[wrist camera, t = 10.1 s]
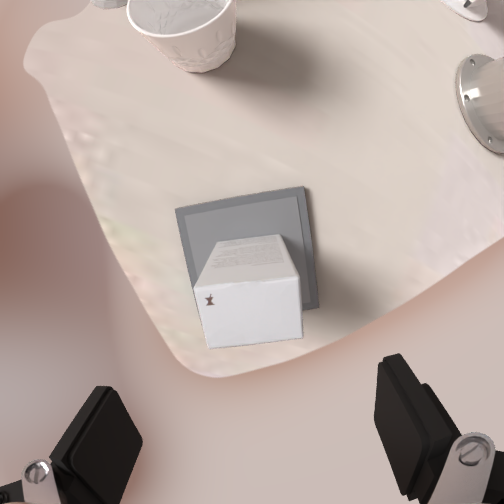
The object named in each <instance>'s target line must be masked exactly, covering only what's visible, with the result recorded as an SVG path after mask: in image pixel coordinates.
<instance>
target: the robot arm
mask: <svg viewBox="0 0 504 504" xmlns="http://www.w3.org/2000/svg"><path fill="white" fill-rule="evenodd" d="M456 93H457V98H458V102H459V105H460V109H461V112H462V114H463V116H464V119H465V121H466V123H467V125H468V126H469V128H470V130H471V131H472V133H473V134H474V136H475V137H476V138H477V139H478V140H479V141H480V142H481V144H482V145H484V146H485V147H486V148H488V149H489V150H491V151H493V152H496V153H504V57H502V58H500V59H497V60H494V59H492V58H491V57H489V56H486V55H483V54H475V55H471V56H469V57H467V58H465V59H464V60H463V61H462V62H461V64H460V65H459V67H458V70H457V74H456ZM374 421H375V425H376V428H377V430H378V433H379V436H380V438H381V441H382V443H383V446H384V449H385V451H386V454H387V457H388V459H389V462H390V465H391V468H392V470H393V473H394V476H395V479H396V481H397V484H398V487H399V490H400V493H401V494H402V495H403V496H404V495H407V497H408V500H409V501H411V500H414V499H416V498H418V500H419V503H420V504H504V452H501V451H496V450H495V445H494V443H493V441H492V440H491V438H490V437H488V436H487V435H485V434H482V433H477V432H475V433H474V432H471V433H467V434H464V435H461V433H460V431H459V430H458V428H457V427H456V425H455V424H454V422H453V420H452V419H451V417H450V416H449V414H448V413H447V411H446V410H445V408H444V407H443V405H442V404H441V402H440V401H439V399H438V398H437V396H436V395H435V393H434V392H433V390H432V389H431V387H430V386H429V385H428V384H426V383H424V384H420V382H419V380H418V379H417V377H416V376H415V374H414V373H413V372H412V370H411V369H410V367H409V365H408V364H407V363H406V361H405V360H404V359H403V357H402V355H401V354H399V353H398V354H395V355H391V356H387V357H384V358H383V362H380V363H379V364H378V375H377V388H376V401H375V411H374ZM142 443H143V441H142V437H141V435H140V433H139V432H138V430H137V428H136V426H135V425H134V423H133V421H132V420H131V417H130V416H129V414H128V412H127V410H126V408H125V406H124V404H123V403H122V400H121V398H120V396H119V395H118V393H117V391H115V390H113V388H112V387H110V386H96V387H95V389H94V390H93V392H92V393H91V394H90V396H89V397H88V399H87V400H86V402H85V403H84V405H83V406H82V408H81V409H80V410H79V412H78V414H77V415H76V416H75V418H74V419H73V421H72V422H71V424H70V426H69V427H68V429H67V430H66V432H65V433H64V434H63V436H62V438H61V439H60V441H59V442H58V444H57V445H56V447H55V448H54V450H53V451H52V453H51V455H50V456H49V458H50V459H51V460H52V463H51V464H50V463H49V462H48V461H46V460H43V459H37V460H33V461H31V462H29V463H28V464H27V465H26V466H25V467H24V469H23V471H22V476H21V478H22V480H19V481H16V482H13V483H10V484H8V485H4V486H1V487H0V504H119V503H120V501H121V499H122V495H123V493H124V490H125V488H126V485H127V482H128V480H129V477H130V475H131V472H132V470H133V467H134V465H135V462H136V460H137V457H138V455H139V452H140V450H141V447H142Z"/></svg>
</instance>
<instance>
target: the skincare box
mask: <svg viewBox="0 0 504 504" xmlns="http://www.w3.org/2000/svg"><path fill="white" fill-rule="evenodd" d="M193 290H194V294H195V298H196V302H197V306H198V310H199V315H200V319H201V323H202V327H203V331H204V335H205V339H206V344H207V347H208V348H209V349H214V348H226V347H236V346H245V345H254V344H262V343H270V342H278V341H285V340H292V339H301V338H303V312H302V296H301V282H300V275H299V274H298V272H297V270H296V268H295V265H294V263H293V261H292V259H291V257H290V254H289V252H288V250H287V248H286V245H285V243H284V241H283V239H282V237H281V235H280V234H276V235H268V236H260V237H251V238H244V239H236V240H228V241H220V242H217V243H216V245H215V247H214V249H213V251H212V253H211V255H210V257H209V259H208V261H207V263H206V265H205V267H204V269H203V271H202V273H201V275H200V276H199V279H198V280H197V282H196V284H195V286H194V288H193Z"/></svg>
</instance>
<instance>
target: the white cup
mask: <svg viewBox="0 0 504 504" xmlns="http://www.w3.org/2000/svg"><path fill="white" fill-rule="evenodd" d="M127 16H128V19H129V21H130V23H131V24H132V26H133V27H134V28H135V29H136V30H137V31H139V32H140V33H141V34H142V35H143V36H144V37H145V38H146V39H147V40H148V41H149V42H150V43H151V44H152V45H153V46H154V47H155V48H156V49H157V50H158V51H160V52H161V53H162V54H163V55H164V56H165V57H166V58H168V59H169V60H170V61H171V62H172V63H173V64H174V65H175V66H177V67H179V68H181V69H183V70H185V71H187V72H199V73H203V72H206V71H209V70H212V69H215V68H218V67H219V66H221V65H222V64H223V63H224V62H225V61H227V60H228V59H229V58H230V56H231V54H232V52H233V50H234V48H235V45H236V44H235V33H236V0H128V3H127Z"/></svg>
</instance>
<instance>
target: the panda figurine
mask: <svg viewBox="0 0 504 504" xmlns="http://www.w3.org/2000/svg"><path fill="white" fill-rule="evenodd" d="M440 1H441V2H442V3H443V4H444V5H446V6H447V7H448V8H449V9H451V10H452V11H453V12H455V13H456V14H458V15H460V16H461V17H463V18H465V19H468V20H471V21H481V20H483V19H485V18H486V16H487V14H488V7H487V3H486V0H440Z"/></svg>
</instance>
